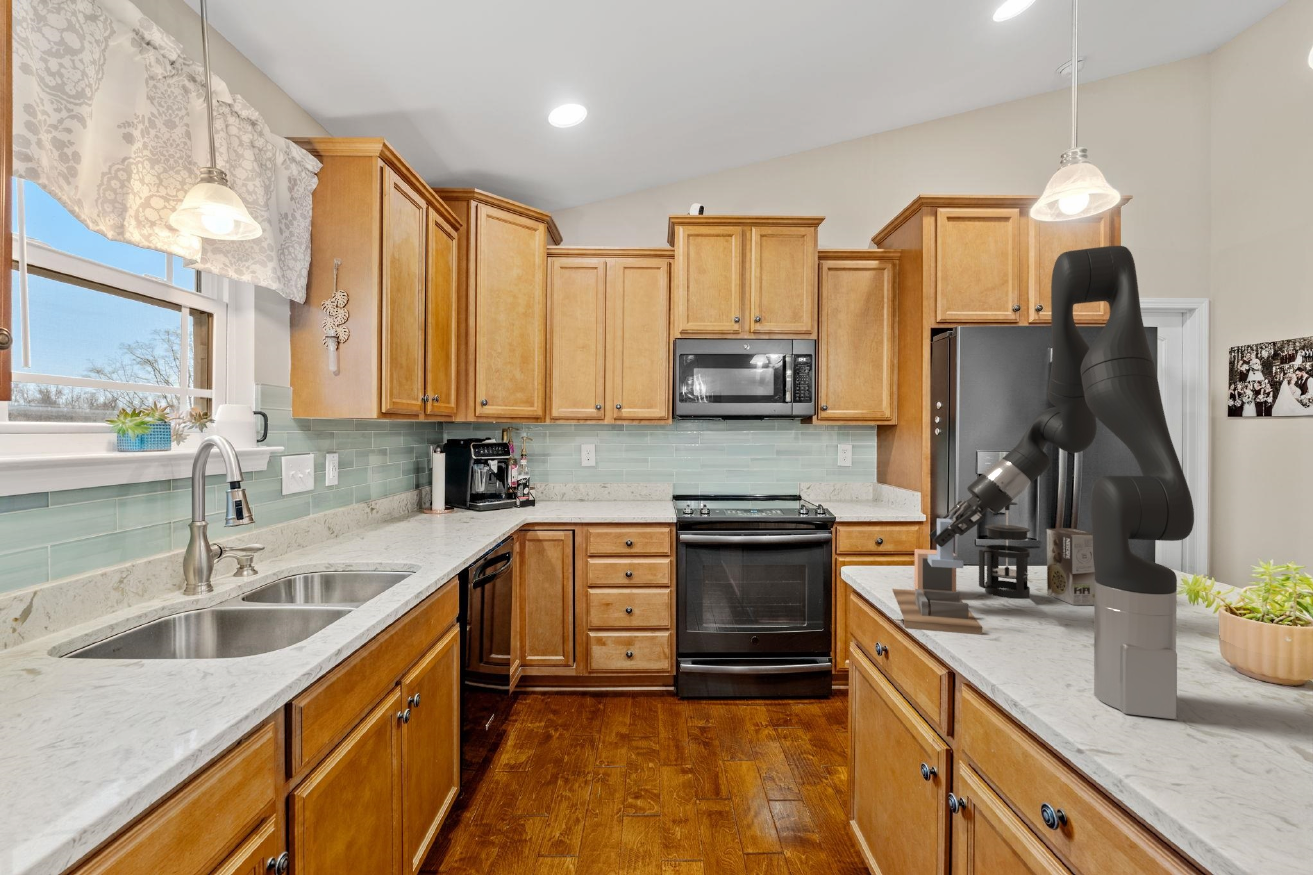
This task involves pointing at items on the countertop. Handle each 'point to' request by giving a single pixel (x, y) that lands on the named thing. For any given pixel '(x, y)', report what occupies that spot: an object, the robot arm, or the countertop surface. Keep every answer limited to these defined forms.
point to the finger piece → (945, 550)
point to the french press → (993, 554)
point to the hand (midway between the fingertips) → (934, 540)
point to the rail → (936, 611)
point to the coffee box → (1070, 566)
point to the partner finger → (932, 573)
